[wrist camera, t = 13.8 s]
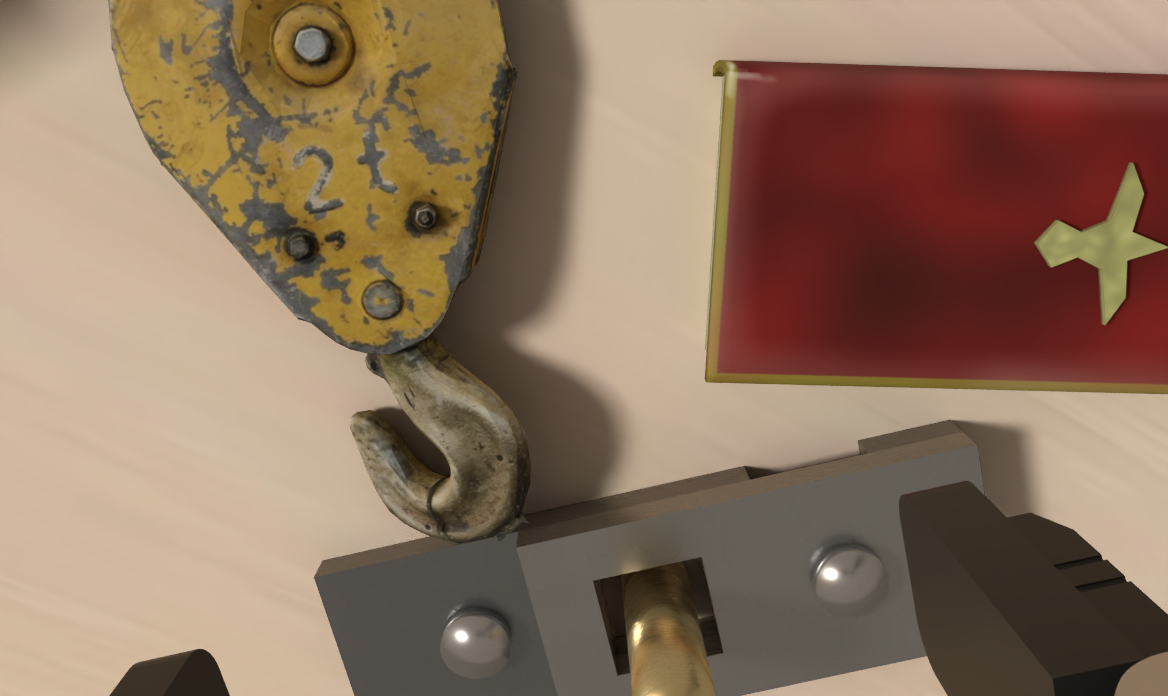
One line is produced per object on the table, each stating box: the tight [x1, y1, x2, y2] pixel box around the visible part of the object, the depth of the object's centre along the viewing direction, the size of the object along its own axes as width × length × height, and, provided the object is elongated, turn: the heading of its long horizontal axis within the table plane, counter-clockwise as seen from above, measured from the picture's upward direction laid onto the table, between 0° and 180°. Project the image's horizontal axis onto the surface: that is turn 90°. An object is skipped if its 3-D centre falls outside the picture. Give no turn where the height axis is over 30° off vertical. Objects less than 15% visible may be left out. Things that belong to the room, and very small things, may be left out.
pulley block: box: [109, 0, 531, 544], centre depth 38 cm, size 14×6×30 cm
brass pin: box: [621, 562, 716, 696], centre depth 40 cm, size 3×3×10 cm
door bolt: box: [314, 420, 985, 696], centre depth 43 cm, size 28×9×4 cm, turn 103°
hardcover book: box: [705, 60, 1168, 394], centre depth 39 cm, size 12×21×4 cm, turn 88°
